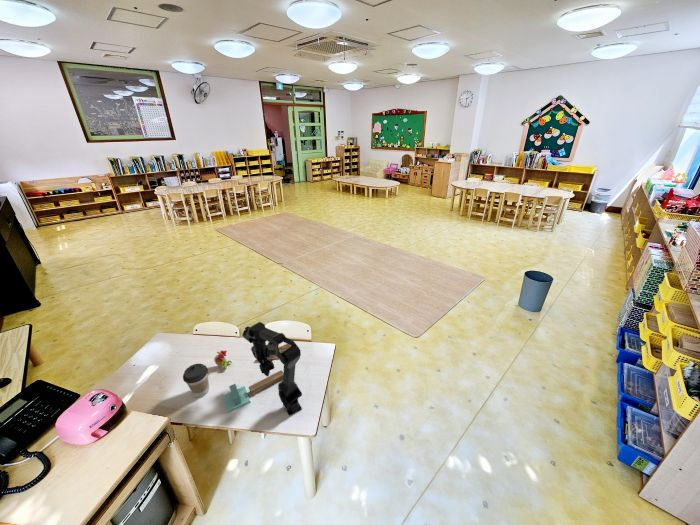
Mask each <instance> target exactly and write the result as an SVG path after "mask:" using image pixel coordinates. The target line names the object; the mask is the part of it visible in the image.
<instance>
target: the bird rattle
mask: <svg viewBox="0 0 700 525" xmlns="http://www.w3.org/2000/svg"><path fill="white" fill-rule="evenodd" d="M227 352H228V350H222V349H221V350H220V352H219V351H217V352H216V353H217V355H215V357H214V358H213V359H214V363H215V365H216V366H217V367H224V369H225V370H226V369H227V370H228V364H229V363H232V360H227V358H226V357H227Z"/></svg>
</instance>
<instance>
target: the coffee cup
mask: <svg viewBox="0 0 700 525" xmlns="http://www.w3.org/2000/svg"><path fill="white" fill-rule="evenodd" d="M208 373H209V369H208V367H207V366H206V365H205V364H203V363H193V364H192V365H190V366H188V367H186V369H185V370H184V373H183V375H182V379H183V381H184V383H186V385H187V387H189V389H190V391H191V393H192V394H193V395H194V396H195V397H196V398H202V397H205V396H206V395H207V394H208V393H209V391H210V383H209V375H208Z"/></svg>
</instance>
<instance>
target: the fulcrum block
mask: <svg viewBox="0 0 700 525" xmlns="http://www.w3.org/2000/svg"><path fill="white" fill-rule="evenodd" d="M237 387H238V386H237V384H236V383H233V384H231V385H228V388H229V391H230V392H227V393H226V394H223V395H222V400H223V403H224V406H225V410H226V414H229V413H231V412H233V411H235V410H238V409H241V408H242V407H244V406H246V405H248V404H250V403H251V399H250V396H249V395H248V392H247V389H246V388H247V387H246V386H245V385H243V386H240V387H239V388H237Z"/></svg>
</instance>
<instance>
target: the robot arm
mask: <svg viewBox="0 0 700 525" xmlns="http://www.w3.org/2000/svg"><path fill="white" fill-rule="evenodd" d="M242 338H244V339H245V341H247V342H249V343H250V344H252V345H253V346H251V348H250V350H251V353H252V355H253V357H254V358H255V360H256V359H257V361H258V363H259V365H258V367H259V369H260V372H261V374H264V376H266V377H269V376H270V373H271V372H270V371H271V370H274V369H275V364H274V362H273V360H268V359H267V358H268V357H270V355H276V356H277V357H278V358H279V359H278V360H279V361H280V362H281V364H282V365H283V380H282V381H281V382H279V383H277V384H278V385H277V389H278V397H279V399H280V402H281V403H282V406H283V407H284V408H285V409H286V412H287V414H288V416H289V417H290V416H292V415H294V414H295V413H298V412H300V411H302V410H303V408H302V406H301V404H300V403H299V398H301V397H302V396H303V393H302V391H301V390H300V388H299V387H298V384H297V383H296V382H295V372H296V364H297V363H298V361H299V360H300V358H301V355H302V353H301V349H300V347H299V346H298V344H297V343H296V342H295V341H294V340H292V339H290V338H288V337H286V335H285V334H284V333H282V332H277V331H274V330H271V328H270V329H269V328H267V327H266V325H265V324H264V323H263V322H261V321H259V322H257V323H255V324H253V325H251V326H246V327H244V331H243V332H242ZM266 342H267V343H266ZM282 343H285V344H289V345H291V347H289V348H288V349H286V350H285V351H283V352H282V353H280V352H279V347H280V346H279V345H281V344H282Z"/></svg>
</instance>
